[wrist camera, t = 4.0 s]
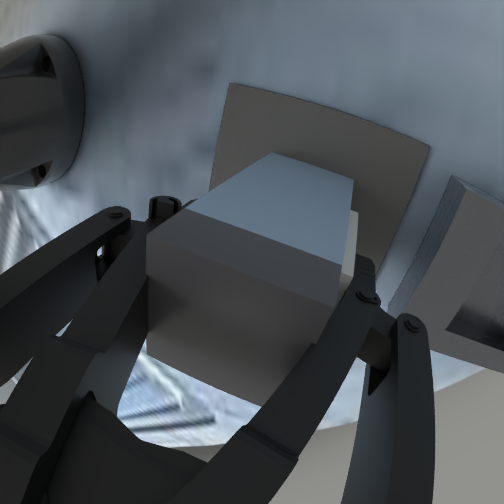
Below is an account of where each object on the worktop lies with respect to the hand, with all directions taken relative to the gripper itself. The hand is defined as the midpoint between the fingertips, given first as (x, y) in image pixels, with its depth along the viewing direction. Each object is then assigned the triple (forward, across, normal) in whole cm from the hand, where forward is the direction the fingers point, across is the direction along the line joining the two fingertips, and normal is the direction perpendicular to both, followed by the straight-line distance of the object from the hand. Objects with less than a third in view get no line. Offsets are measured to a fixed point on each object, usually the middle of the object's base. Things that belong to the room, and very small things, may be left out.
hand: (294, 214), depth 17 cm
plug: (+2, 0, 0) cm, 2 cm away
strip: (+2, +24, 0) cm, 24 cm away
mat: (+2, 0, 0) cm, 2 cm away
